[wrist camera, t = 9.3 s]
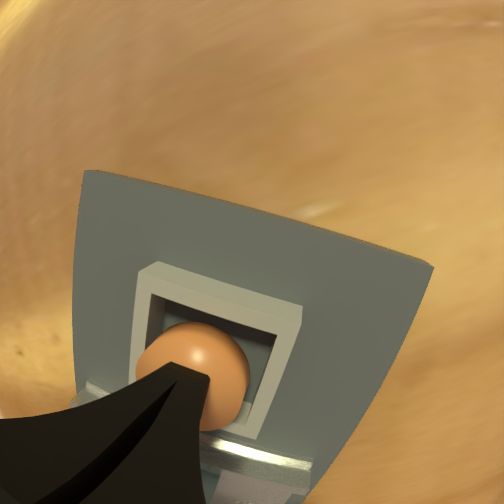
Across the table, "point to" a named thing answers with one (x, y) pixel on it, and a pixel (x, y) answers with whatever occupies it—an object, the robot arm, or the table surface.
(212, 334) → the button
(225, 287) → the button housing
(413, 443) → the table surface
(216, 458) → the metal rail
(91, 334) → the holder board
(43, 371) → the table surface
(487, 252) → the table surface
